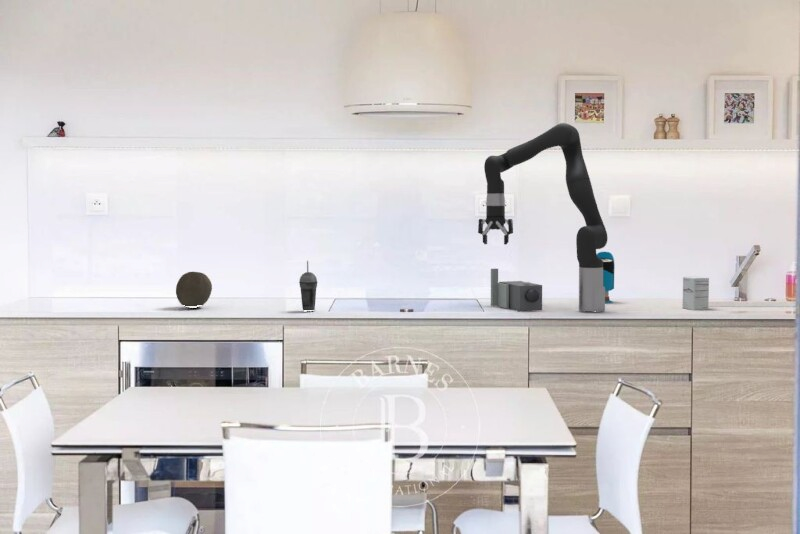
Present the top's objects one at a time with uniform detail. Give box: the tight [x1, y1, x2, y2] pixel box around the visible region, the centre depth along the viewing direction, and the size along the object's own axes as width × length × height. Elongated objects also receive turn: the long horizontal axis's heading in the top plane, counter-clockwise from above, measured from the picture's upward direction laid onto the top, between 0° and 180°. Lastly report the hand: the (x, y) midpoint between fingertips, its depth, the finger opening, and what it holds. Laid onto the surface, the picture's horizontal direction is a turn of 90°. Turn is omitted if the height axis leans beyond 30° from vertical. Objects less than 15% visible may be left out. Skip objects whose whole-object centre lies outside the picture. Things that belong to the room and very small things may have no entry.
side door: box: [490, 268, 509, 309], centre depth 414 cm, size 10×3×15 cm, turn 18°
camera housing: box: [498, 280, 543, 312], centre depth 411 cm, size 22×10×11 cm, turn 18°
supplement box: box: [682, 275, 710, 311], centre depth 407 cm, size 7×7×13 cm
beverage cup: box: [298, 260, 318, 311], centre depth 405 cm, size 7×7×20 cm
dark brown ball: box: [175, 271, 213, 307], centre depth 418 cm, size 14×14×15 cm
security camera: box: [596, 251, 615, 304], centre depth 431 cm, size 8×21×10 cm
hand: (495, 244), depth 423 cm, fingers open, 8 cm apart
